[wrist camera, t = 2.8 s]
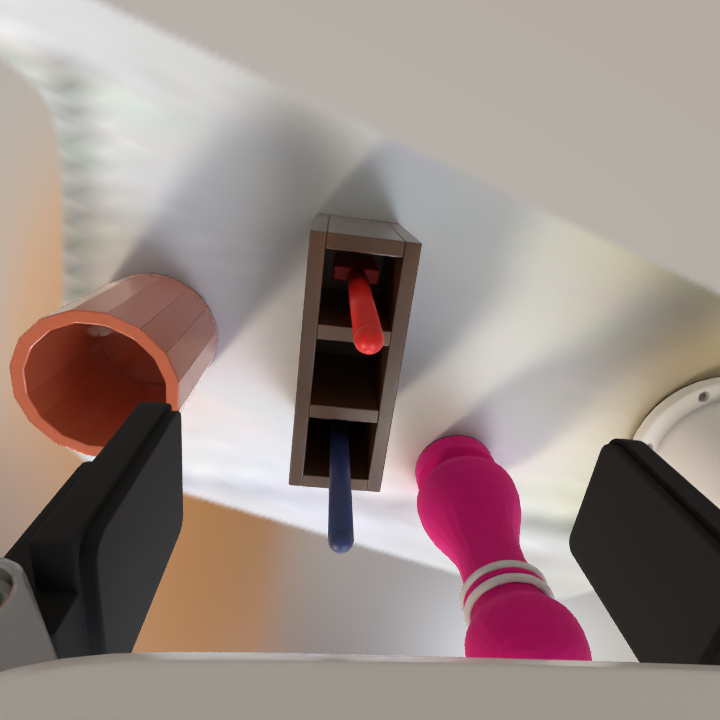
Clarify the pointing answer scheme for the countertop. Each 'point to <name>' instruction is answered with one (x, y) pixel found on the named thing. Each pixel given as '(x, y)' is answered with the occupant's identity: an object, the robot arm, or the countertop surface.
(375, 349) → the red toy mallet
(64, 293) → the countertop surface
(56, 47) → the countertop surface
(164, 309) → the crock
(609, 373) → the countertop surface
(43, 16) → the countertop surface
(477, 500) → the pepper mill
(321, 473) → the caddy
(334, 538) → the blue rounded rod
